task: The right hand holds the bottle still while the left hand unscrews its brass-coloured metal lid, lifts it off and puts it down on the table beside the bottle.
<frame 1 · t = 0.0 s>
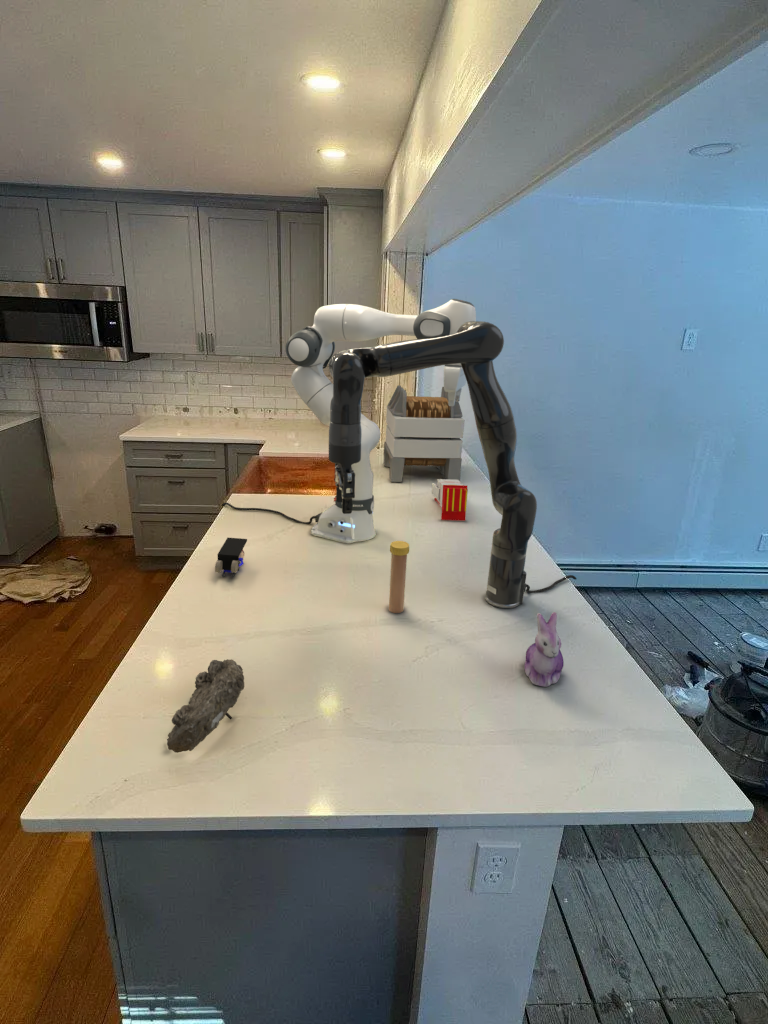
left hand: (454, 403, 174), 48 cm above the counter, tool pointing down, fingers open, 8 cm apart
right hand: (343, 507, 136), 29 cm above the counter, tool pointing down, fingers open, 8 cm apart
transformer: (419, 473, 275), on the counter
figurine character: (232, 569, 168), on the counter
fossil: (212, 717, 108), on the counter
lid: (399, 545, 144), point 18 cm above the counter, screwed on, not yet turned
figurine: (543, 675, 125), on the counter
toy: (448, 509, 227), on the counter
bottle: (396, 609, 150), on the counter
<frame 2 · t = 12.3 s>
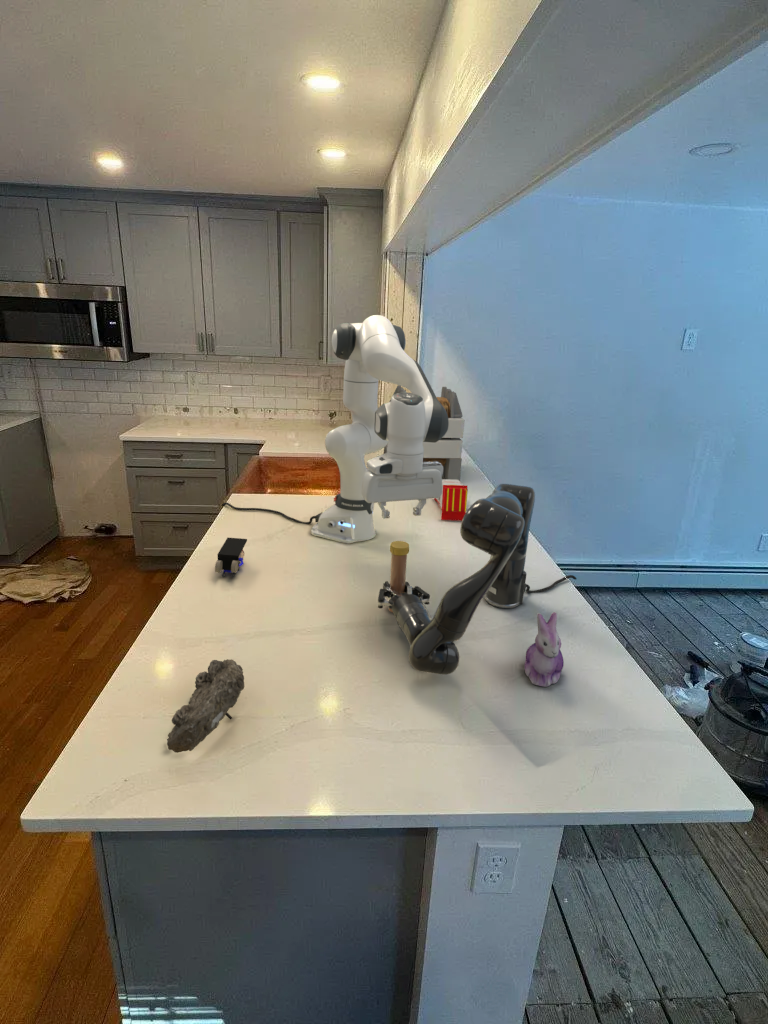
left hand: (401, 516, 141), 26 cm above the counter, tool pointing down, fingers open, 7 cm apart
right hand: (394, 583, 150), 6 cm above the counter, tool horizontal, fingers closed on bottle, 4 cm apart
bottle: (396, 609, 150), on the counter, touching right hand
everything else where it was.
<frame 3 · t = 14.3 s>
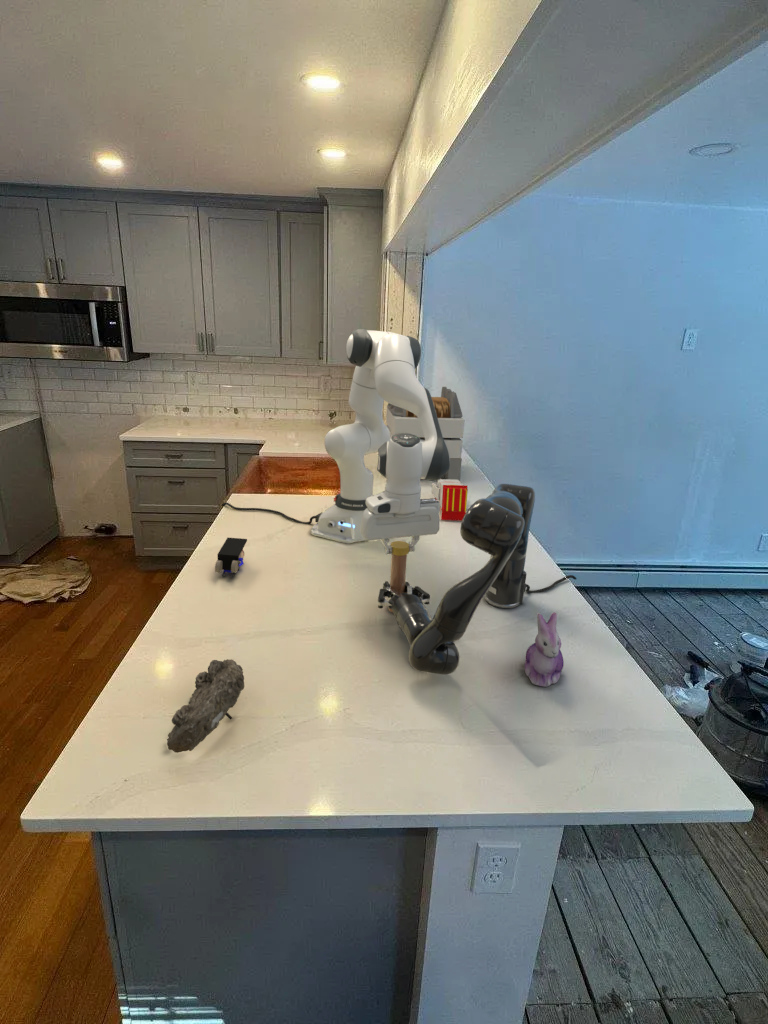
left hand: (399, 552, 144), 17 cm above the counter, tool pointing down, fingers closed on lid, 4 cm apart
right hand: (394, 583, 150), 6 cm above the counter, tool horizontal, fingers closed on bottle, 4 cm apart
lid: (399, 545, 144), point 18 cm above the counter, screwed on, not yet turned, touching left hand
bottle: (396, 609, 150), on the counter, touching right hand
everything else where it was.
when the left hand's fingers open (17 cm above the counter, at t = 15.5 s): lid stays where it is, point 19 cm above the counter.
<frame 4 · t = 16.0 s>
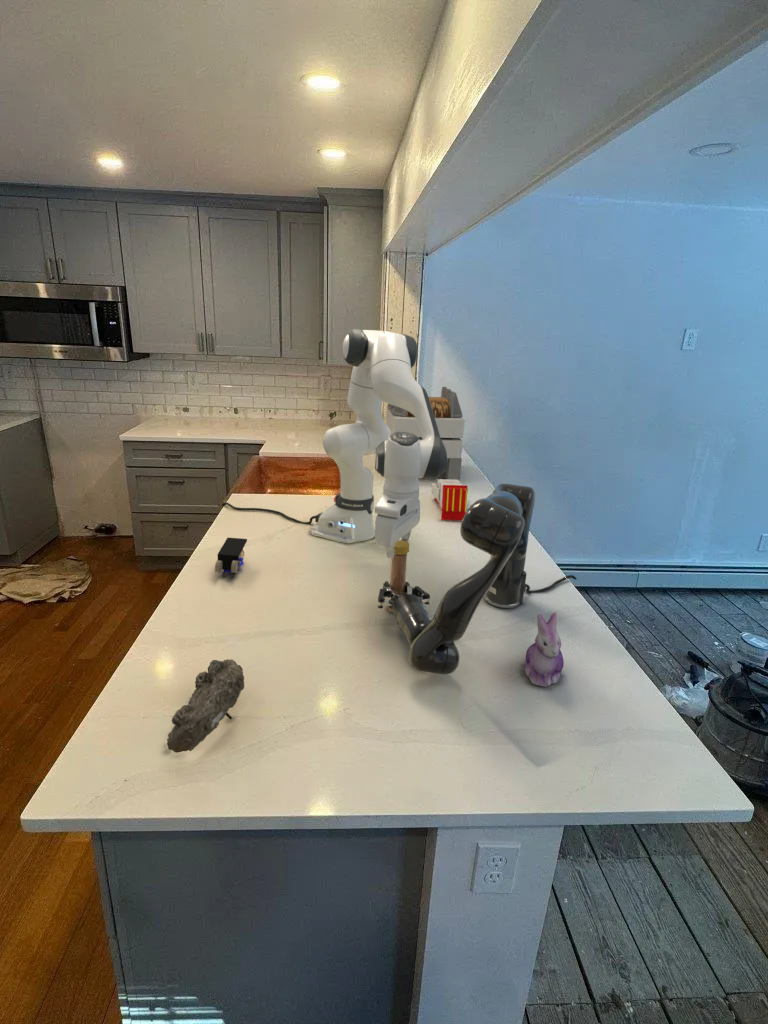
left hand: (397, 551, 144), 17 cm above the counter, tool pointing down, fingers open, 7 cm apart
right hand: (394, 583, 150), 6 cm above the counter, tool horizontal, fingers closed on bottle, 4 cm apart
lid: (399, 544, 143), point 19 cm above the counter, turned 71° so far, risen 0.2 cm, still on its thread
bottle: (396, 609, 150), on the counter, touching right hand
everything else where it was.
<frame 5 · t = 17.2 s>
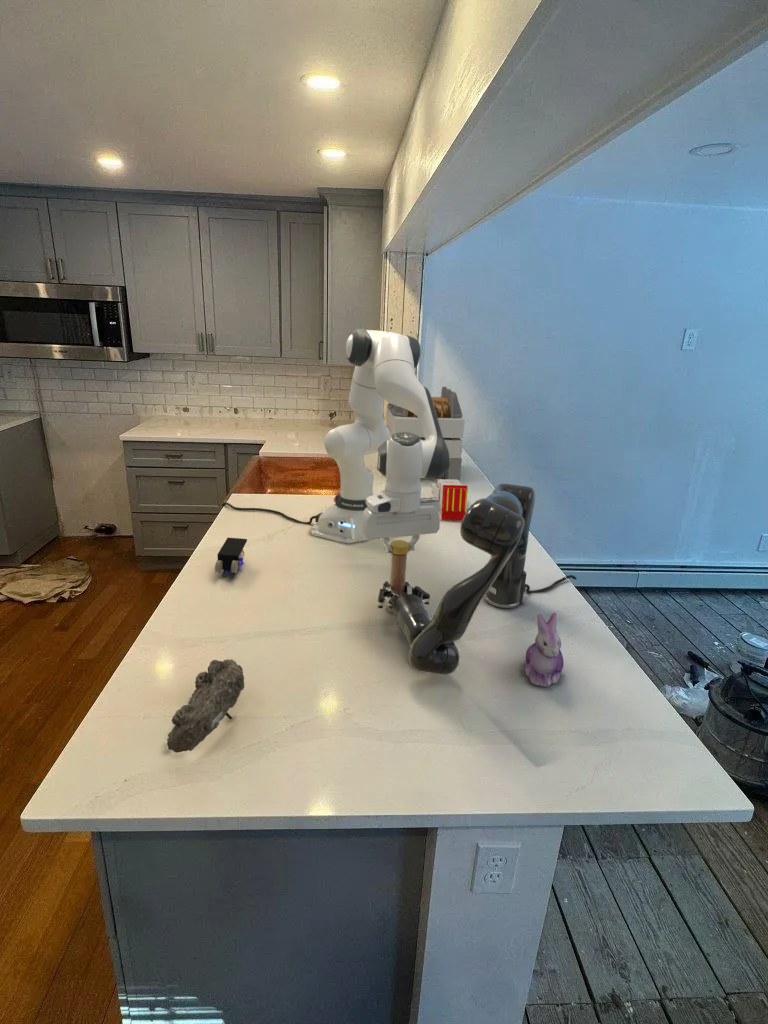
left hand: (399, 551, 144), 17 cm above the counter, tool pointing down, fingers closed on lid, 4 cm apart
right hand: (394, 583, 150), 6 cm above the counter, tool horizontal, fingers closed on bottle, 4 cm apart
lid: (399, 544, 143), point 19 cm above the counter, turned 71° so far, risen 0.3 cm, still on its thread, touching left hand
bottle: (396, 609, 150), on the counter, touching right hand
everything else where it was.
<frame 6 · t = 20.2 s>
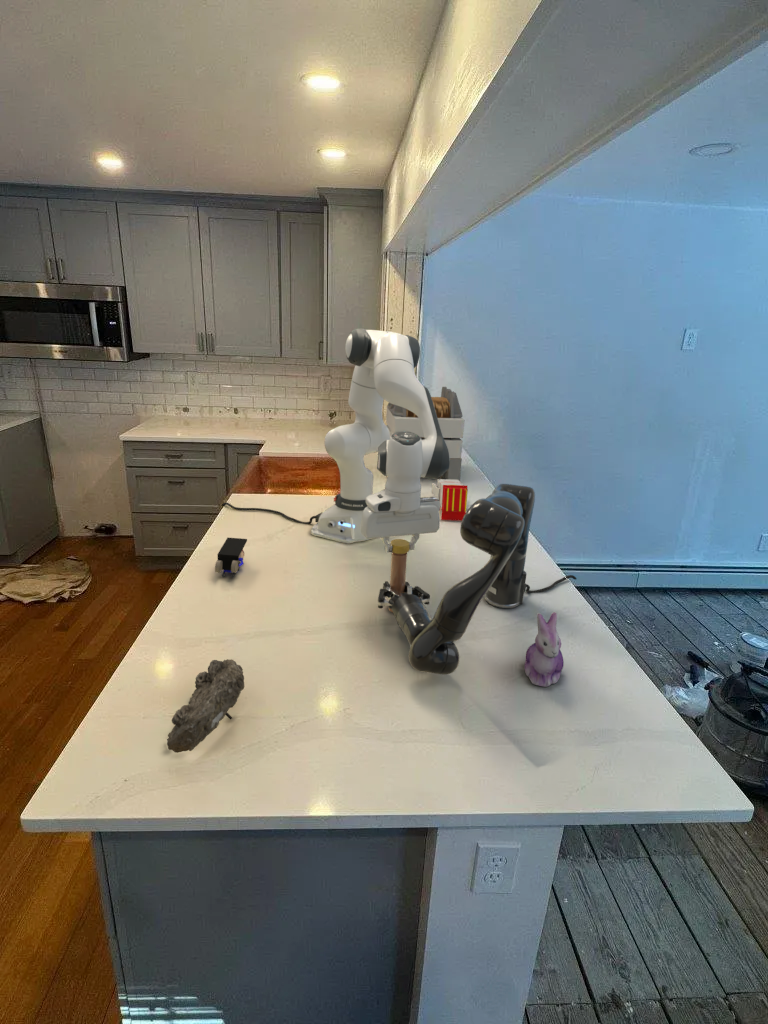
left hand: (399, 550, 144), 17 cm above the counter, tool pointing down, fingers closed on lid, 4 cm apart
right hand: (394, 583, 150), 6 cm above the counter, tool horizontal, fingers closed on bottle, 4 cm apart
lid: (399, 543, 143), point 19 cm above the counter, turned 143° so far, risen 0.5 cm, still on its thread, touching left hand
bottle: (396, 609, 150), on the counter, touching right hand
everything else where it was.
when the left hand's fingers open (2 cm above the counter, at t = 26.9 s): lid drops 2 cm, point 2 cm above the counter.
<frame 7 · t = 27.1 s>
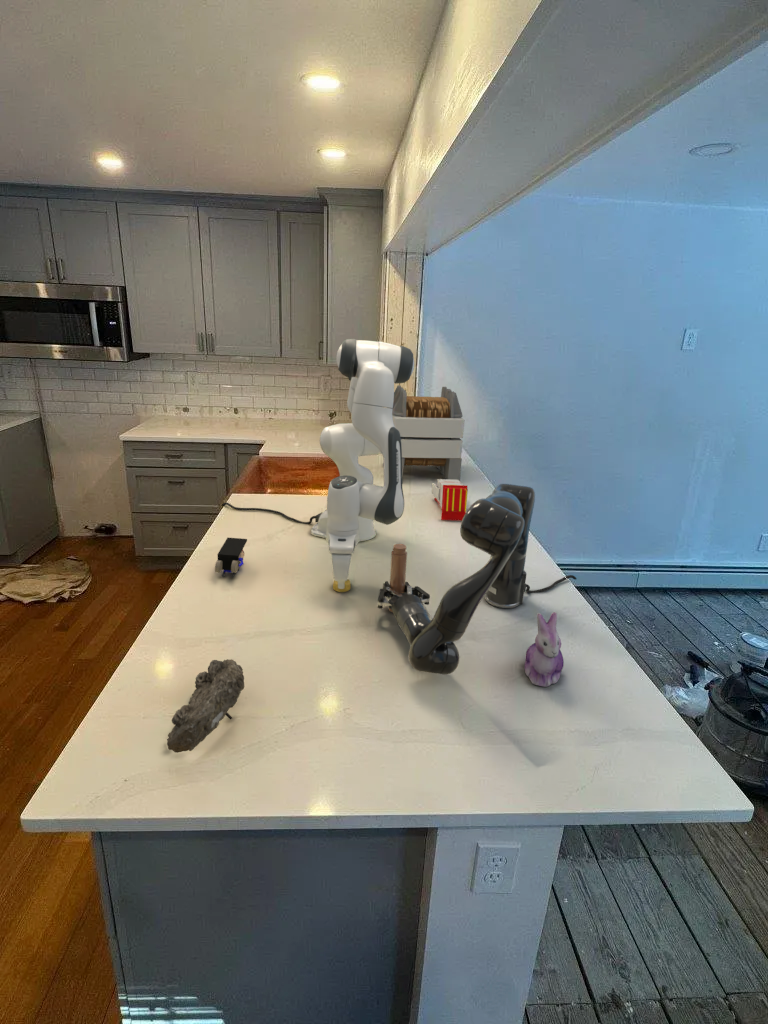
left hand: (341, 581, 159), 2 cm above the counter, tool pointing down, fingers open, 7 cm apart
right hand: (394, 583, 150), 6 cm above the counter, tool horizontal, fingers closed on bottle, 4 cm apart
lid: (341, 582, 159), point 2 cm above the counter, off its thread
bottle: (396, 609, 150), on the counter, touching right hand
everything else where it was.
when the right hand's fingers open (6 cm above the counter, at t = 27.9 s): bottle stays where it is, on the counter.
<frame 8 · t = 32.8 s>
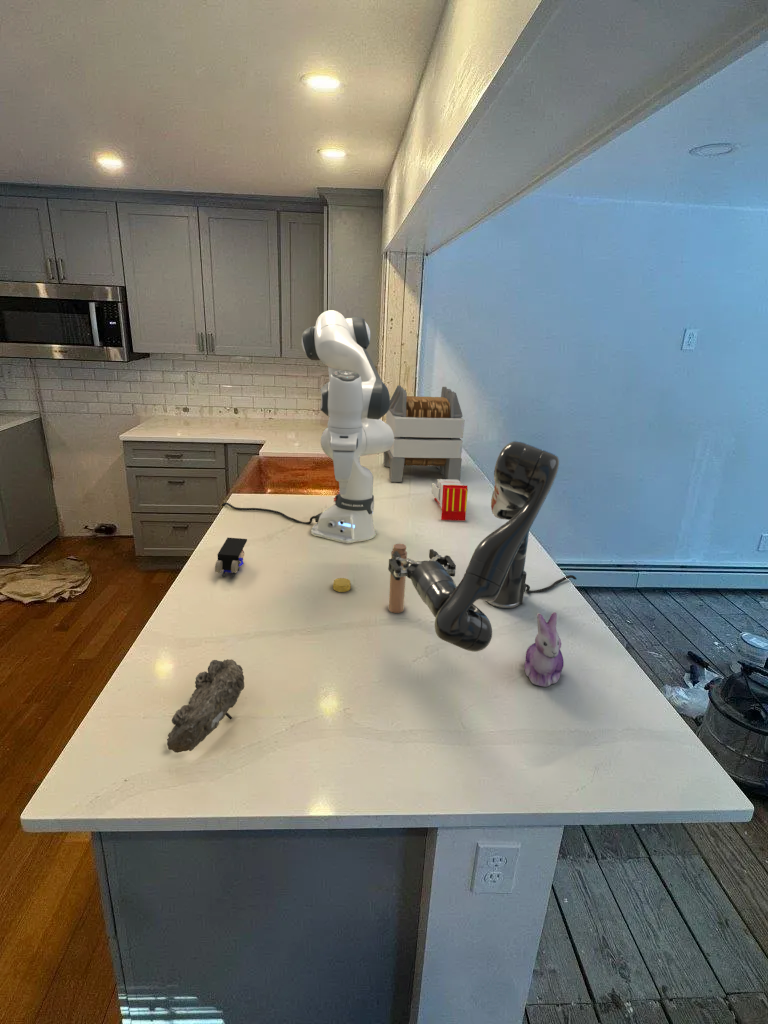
left hand: (343, 488, 150), 29 cm above the counter, tool pointing down, fingers open, 8 cm apart
right hand: (413, 553, 132), 21 cm above the counter, tool horizontal, fingers open, 8 cm apart
bottle: (396, 609, 150), on the counter
everything else where it was.
at the end: lid came off its thread; lid point 1.7 cm above the counter; the left hand is holding nothing; the right hand is holding nothing; bottle tilted 0°; bottle moved 0.1 cm from its start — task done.
